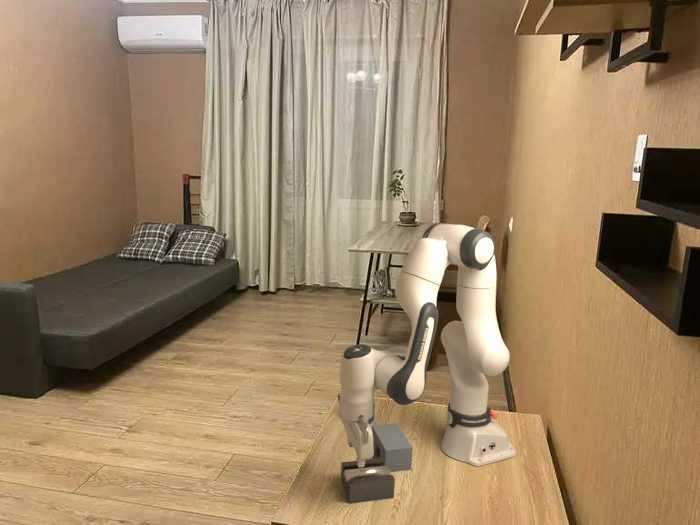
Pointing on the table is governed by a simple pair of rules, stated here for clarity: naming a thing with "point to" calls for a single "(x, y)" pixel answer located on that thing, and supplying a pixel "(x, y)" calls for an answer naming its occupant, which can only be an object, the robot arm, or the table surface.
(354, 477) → the axle
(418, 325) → the robot arm
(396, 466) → the grey block
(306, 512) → the table surface
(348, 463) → the v block
